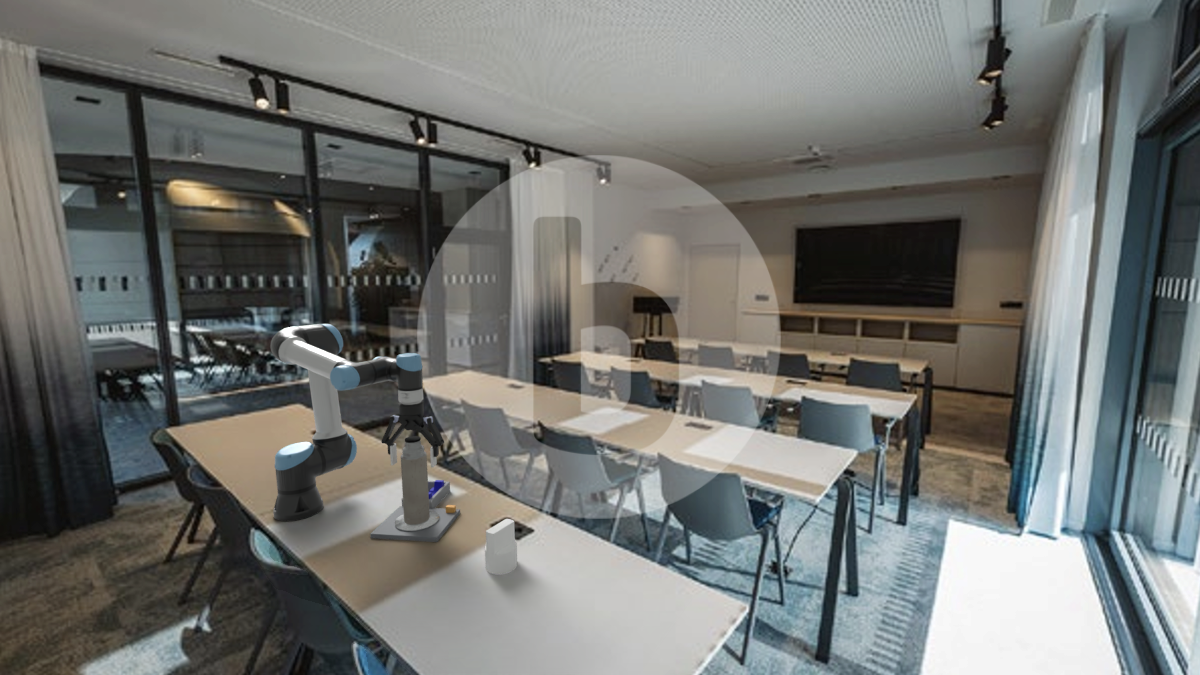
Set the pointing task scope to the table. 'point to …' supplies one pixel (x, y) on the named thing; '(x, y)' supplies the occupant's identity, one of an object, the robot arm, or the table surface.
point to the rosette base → (421, 532)
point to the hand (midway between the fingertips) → (413, 464)
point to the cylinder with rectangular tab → (501, 548)
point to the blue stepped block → (436, 487)
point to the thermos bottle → (415, 482)
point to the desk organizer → (437, 494)
